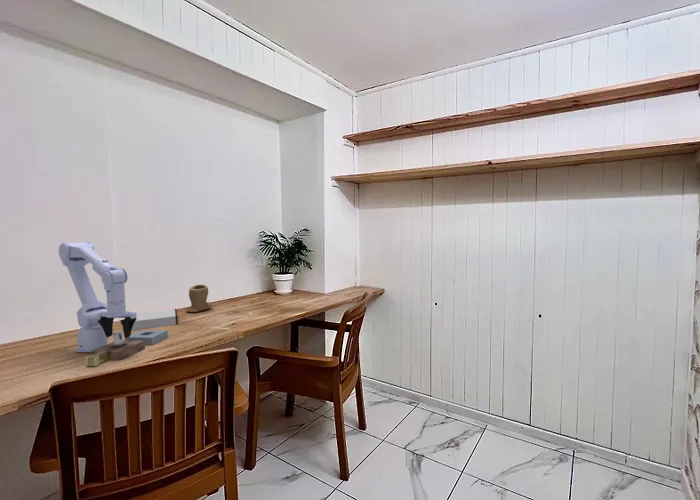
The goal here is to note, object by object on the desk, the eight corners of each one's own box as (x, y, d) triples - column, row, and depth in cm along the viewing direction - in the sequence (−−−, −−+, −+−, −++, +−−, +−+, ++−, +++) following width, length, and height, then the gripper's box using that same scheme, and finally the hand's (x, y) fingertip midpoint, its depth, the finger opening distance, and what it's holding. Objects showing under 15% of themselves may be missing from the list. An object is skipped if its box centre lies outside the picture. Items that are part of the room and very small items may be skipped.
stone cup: (195, 314, 189) (194, 287, 188) (182, 312, 194) (181, 286, 194) (218, 308, 202) (217, 283, 201) (205, 306, 208) (204, 282, 207)
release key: (86, 365, 118) (85, 356, 118) (100, 359, 124) (100, 350, 124) (96, 366, 118) (95, 357, 117) (110, 359, 123) (110, 350, 123)
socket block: (91, 359, 125) (90, 351, 125) (117, 347, 137) (117, 340, 136) (121, 360, 123) (120, 351, 123) (145, 348, 135) (144, 340, 135)
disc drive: (177, 325, 169) (177, 315, 169) (123, 332, 159) (123, 321, 158) (176, 317, 185) (176, 308, 185) (127, 323, 174) (127, 313, 174)
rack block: (125, 344, 141) (124, 337, 140) (142, 336, 150) (142, 329, 150) (152, 344, 139) (151, 337, 139) (167, 337, 149) (167, 330, 149)
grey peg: (112, 354, 129) (111, 334, 128) (118, 352, 132) (117, 331, 131) (119, 355, 128) (118, 334, 128) (125, 352, 131) (124, 331, 131)
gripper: (89, 303, 126) (92, 339, 126) (125, 303, 124) (127, 340, 125) (105, 299, 133) (107, 333, 133) (139, 299, 131) (141, 334, 132)
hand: (118, 336), depth 129 cm, fingers open, 7 cm apart
